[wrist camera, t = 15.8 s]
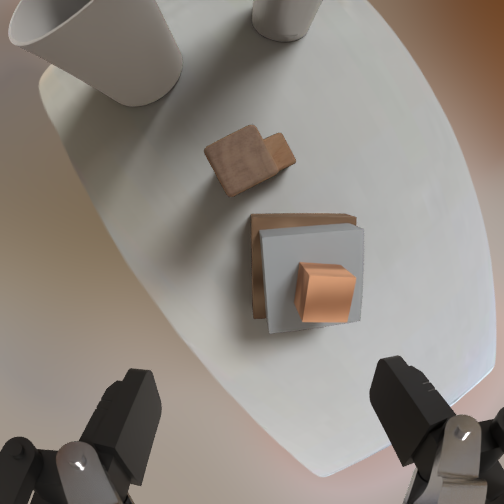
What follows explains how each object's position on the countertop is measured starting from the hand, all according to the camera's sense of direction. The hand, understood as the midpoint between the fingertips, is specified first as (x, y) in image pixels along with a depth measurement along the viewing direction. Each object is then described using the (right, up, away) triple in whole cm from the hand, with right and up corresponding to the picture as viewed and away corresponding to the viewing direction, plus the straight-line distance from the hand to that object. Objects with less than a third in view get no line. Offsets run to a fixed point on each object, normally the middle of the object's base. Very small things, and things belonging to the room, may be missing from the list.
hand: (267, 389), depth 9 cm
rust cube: (+7, +1, +23) cm, 24 cm away
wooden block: (0, +17, +29) cm, 34 cm away
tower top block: (+7, +2, +28) cm, 29 cm away
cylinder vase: (-17, +32, +25) cm, 44 cm away
